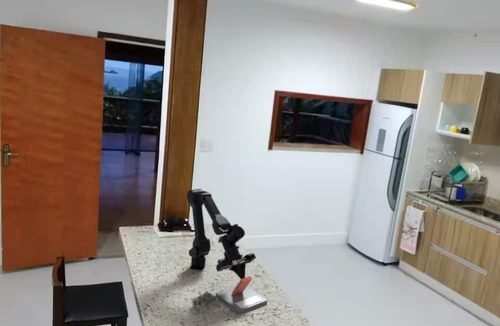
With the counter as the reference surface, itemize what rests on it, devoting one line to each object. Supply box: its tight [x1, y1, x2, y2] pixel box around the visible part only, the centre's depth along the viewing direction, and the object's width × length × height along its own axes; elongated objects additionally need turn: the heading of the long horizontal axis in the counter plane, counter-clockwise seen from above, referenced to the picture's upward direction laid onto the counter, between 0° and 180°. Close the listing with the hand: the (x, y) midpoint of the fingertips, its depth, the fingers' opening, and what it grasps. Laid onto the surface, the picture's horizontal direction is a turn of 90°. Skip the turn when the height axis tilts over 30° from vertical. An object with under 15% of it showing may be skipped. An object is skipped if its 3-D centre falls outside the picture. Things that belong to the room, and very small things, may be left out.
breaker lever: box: [231, 276, 253, 295], centre depth 173 cm, size 2×6×10 cm
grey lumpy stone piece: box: [190, 290, 220, 314], centre depth 166 cm, size 11×8×4 cm
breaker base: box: [215, 285, 268, 315], centre depth 174 cm, size 16×16×2 cm
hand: (243, 280), depth 172 cm, fingers closed, pressing on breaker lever
